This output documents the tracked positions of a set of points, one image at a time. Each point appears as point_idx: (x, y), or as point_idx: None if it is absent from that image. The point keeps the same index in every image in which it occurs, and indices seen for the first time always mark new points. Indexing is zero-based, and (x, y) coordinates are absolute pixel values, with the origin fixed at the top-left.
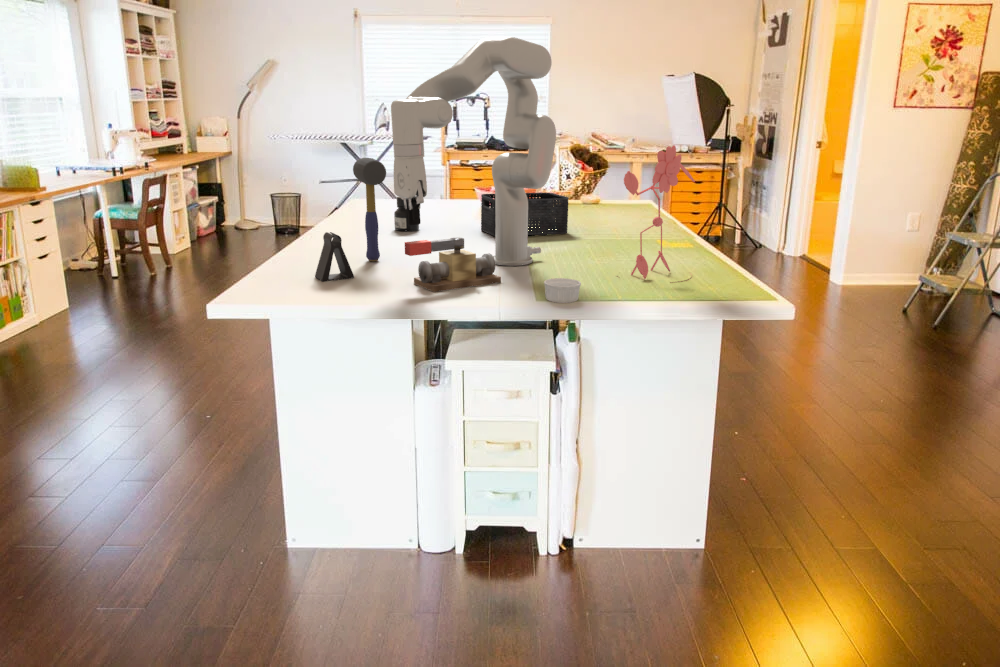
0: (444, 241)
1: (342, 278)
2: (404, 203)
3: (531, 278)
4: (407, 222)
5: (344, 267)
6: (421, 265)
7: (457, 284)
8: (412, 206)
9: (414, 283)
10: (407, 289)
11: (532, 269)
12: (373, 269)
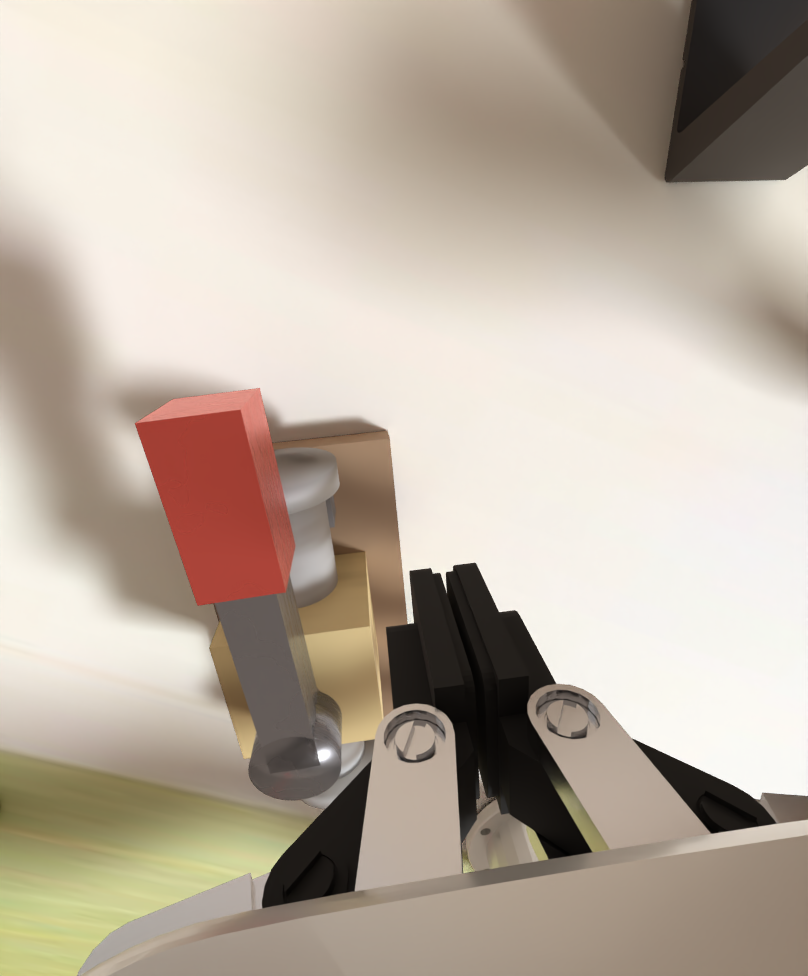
0: (244, 689)
1: (681, 96)
2: (623, 747)
3: (279, 811)
4: (458, 575)
5: (730, 95)
6: (294, 477)
7: None
8: (372, 783)
9: (382, 431)
10: (283, 357)
11: None
12: (766, 358)
